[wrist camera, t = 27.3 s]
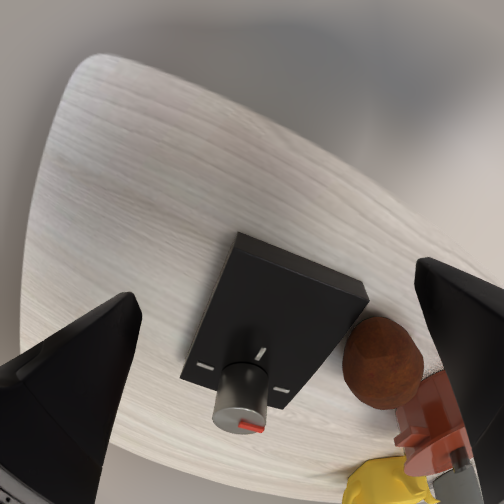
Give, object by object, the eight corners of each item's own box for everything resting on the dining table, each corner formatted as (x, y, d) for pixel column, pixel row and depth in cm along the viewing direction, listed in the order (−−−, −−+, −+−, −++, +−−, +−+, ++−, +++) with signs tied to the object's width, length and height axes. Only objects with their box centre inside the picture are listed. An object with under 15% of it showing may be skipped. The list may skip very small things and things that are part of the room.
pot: (424, 352, 26) (448, 411, 19) (503, 375, 28) (524, 417, 21) (359, 417, 31) (367, 471, 24) (447, 427, 33) (459, 468, 26)
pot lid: (464, 404, 20) (477, 436, 16) (519, 410, 21) (529, 433, 18) (379, 469, 25) (383, 496, 22) (447, 467, 27) (452, 489, 23)
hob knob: (214, 384, 25) (205, 429, 21) (229, 356, 24) (221, 405, 19) (257, 397, 26) (253, 442, 22) (276, 371, 24) (274, 420, 20)
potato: (414, 292, 23) (444, 346, 17) (410, 366, 27) (428, 417, 21) (332, 312, 24) (344, 373, 18) (343, 383, 28) (351, 437, 22)
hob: (238, 230, 22) (233, 248, 19) (362, 281, 23) (370, 302, 20) (182, 365, 28) (176, 386, 26) (278, 395, 29) (277, 416, 27)
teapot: (431, 462, 38) (441, 506, 30) (361, 488, 43) (364, 531, 34) (413, 438, 34) (426, 495, 25) (327, 470, 38) (329, 524, 30)
